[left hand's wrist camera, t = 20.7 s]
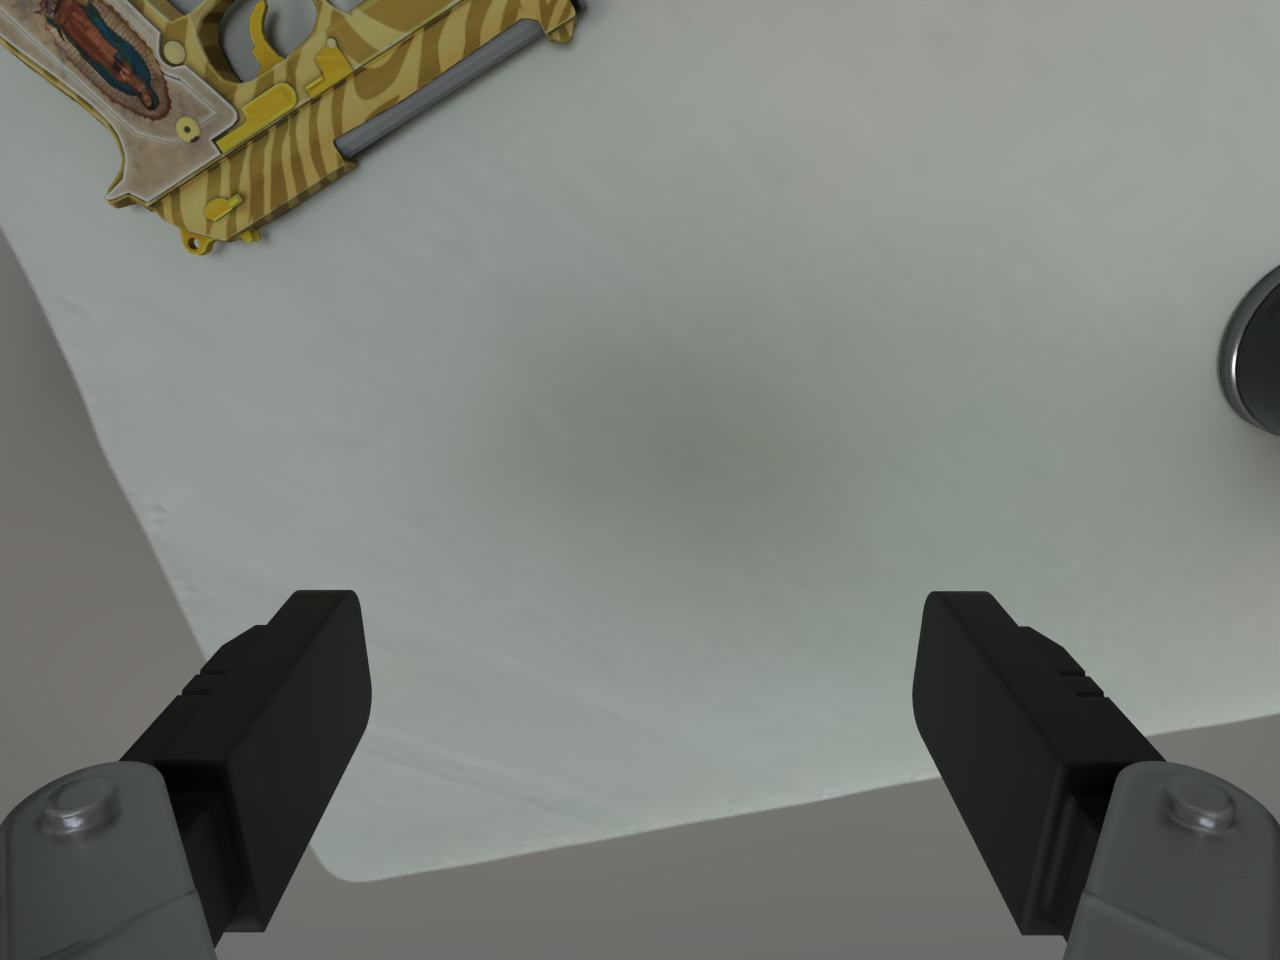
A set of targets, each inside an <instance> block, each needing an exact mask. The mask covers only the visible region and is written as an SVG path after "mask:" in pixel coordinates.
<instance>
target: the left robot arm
mask: <svg viewBox="0 0 1280 960" xmlns="http://www.w3.org/2000/svg"><path fill="white" fill-rule="evenodd" d="M1220 373H1221V381H1222V385H1223V389H1224V392H1225V394H1226V397H1227V399H1228V401H1229V402H1230V404H1231V406H1232V407H1233V408H1234V410H1235V411H1236V412H1237V413H1238V414H1239V415H1240V416H1241V417H1242V418H1243V419H1244V420H1246V421H1247V422H1248V423H1250V424H1252V425H1253V426H1255V427H1257V428H1260V429H1262V430H1265V431H1267V432H1270V433H1272V434H1275V435H1278V436H1280V268H1278V269H1277V270H1275V271H1274V272H1273V273H1271V274H1270V275H1269V276H1268V277H1266V278H1265V279H1264V280H1263V281H1262V282H1261V283H1260V284H1259V285H1258V286H1257V287H1256V288H1255V289H1254V290H1253V291H1252V292H1251V293H1250V294H1249V296H1248V297H1247V298H1246V299H1245V301H1244V302H1243V303H1242V305H1241V306H1240V308H1239V309H1238V311H1237V312H1236V314H1235V316H1234V318H1233V320H1232V322H1231V324H1230V326H1229V328H1228V331H1227V333H1226V336H1225V339H1224V343H1223V347H1222V352H1221V361H1220ZM912 699H913V710H914V716H915V721H916V724H917V727H918V730H919V733H920V735H921V737H922V739H923V741H924V743H925V745H926V747H927V749H928V751H929V752H930V754H931V756H932V758H933V760H934V762H935V764H936V766H937V768H938V770H939V772H940V774H941V776H942V778H943V780H944V782H945V784H946V786H947V788H948V790H949V792H950V794H951V796H952V798H953V800H954V802H955V804H956V806H957V808H958V810H959V812H960V814H961V816H962V818H963V820H964V822H965V824H966V826H967V827H968V829H969V831H970V833H971V835H972V837H973V839H974V841H975V843H976V845H977V847H978V849H979V851H980V853H981V855H982V857H983V859H984V861H985V863H986V865H987V867H988V869H989V871H990V873H991V875H992V877H993V879H994V881H995V883H996V885H997V887H998V889H999V891H1000V893H1001V895H1002V897H1003V899H1004V901H1005V902H1006V905H1007V906H1008V908H1009V910H1010V912H1011V914H1012V916H1013V918H1014V920H1015V922H1016V924H1017V926H1018V928H1019V930H1020V932H1021V934H1022V935H1063V937H1064V939H1065V940H1066V942H1067V946H1066V950H1065V953H1064V957H1063V960H1280V825H1279V824H1278V822H1277V821H1276V819H1275V818H1274V817H1273V815H1272V814H1271V813H1270V812H1269V811H1268V810H1267V809H1266V808H1265V807H1264V806H1263V805H1262V804H1261V803H1259V802H1258V801H1257V800H1256V799H1255V798H1253V797H1252V796H1251V795H1249V794H1248V793H1246V792H1245V791H1243V790H1242V789H1240V788H1239V787H1237V786H1235V785H1233V784H1232V783H1230V782H1228V781H1226V780H1224V779H1222V778H1220V777H1218V776H1216V775H1213V774H1210V773H1208V772H1205V771H1203V770H1200V769H1197V768H1193V767H1190V766H1186V765H1182V764H1177V763H1171V762H1167V761H1166V760H1165V759H1164V758H1163V757H1162V756H1161V755H1160V754H1159V752H1158V751H1157V750H1156V749H1155V748H1154V747H1153V746H1152V745H1151V744H1150V743H1149V741H1148V740H1147V739H1146V738H1145V737H1144V736H1143V735H1142V734H1141V733H1140V731H1139V730H1138V729H1137V728H1136V727H1135V726H1134V725H1133V724H1132V723H1131V722H1130V720H1129V719H1128V718H1127V717H1126V716H1125V715H1124V714H1123V713H1122V712H1121V711H1120V709H1119V708H1118V707H1117V706H1116V705H1115V704H1114V703H1113V702H1112V701H1111V700H1110V698H1109V697H1104V692H1103V691H1102V690H1101V688H1100V687H1099V686H1098V685H1097V684H1096V683H1095V682H1094V681H1093V680H1092V679H1091V677H1090V676H1085V671H1084V670H1083V669H1082V668H1081V666H1080V665H1079V664H1078V663H1077V662H1076V661H1075V660H1074V659H1073V658H1072V657H1071V655H1070V654H1069V653H1068V652H1067V651H1066V650H1065V649H1064V648H1063V647H1062V646H1060V645H1059V644H1057V643H1055V642H1054V641H1052V640H1050V639H1049V638H1047V637H1045V636H1044V635H1042V634H1041V633H1039V632H1037V631H1036V630H1034V629H1032V628H1031V627H1019V626H1018V625H1017V624H1016V623H1015V622H1014V620H1013V619H1012V618H1011V617H1010V616H1009V615H1008V613H1007V612H1006V611H1005V610H1004V609H1003V607H1002V606H1001V605H1000V604H999V603H998V602H997V600H996V599H995V598H994V597H993V596H992V595H991V594H990V593H989V592H986V591H933V592H931V593H930V594H929V595H928V597H927V599H926V601H925V605H924V610H923V617H922V624H921V631H920V638H919V645H918V652H917V659H916V667H915V674H914V681H913V691H912ZM371 700H372V687H371V678H370V671H369V664H368V657H367V650H366V643H365V635H364V628H363V621H362V614H361V607H360V602H359V599H358V597H357V595H356V593H355V592H354V591H352V590H297V591H296V592H294V593H293V594H292V595H291V596H290V598H289V599H288V600H287V601H286V602H285V604H284V605H283V606H282V607H281V608H280V610H279V611H278V612H277V613H276V614H275V615H274V617H273V618H272V619H271V620H270V621H269V623H268V624H267V625H255V626H253V627H252V628H250V629H249V630H247V631H245V632H244V633H242V634H240V635H239V636H237V637H236V638H234V639H232V640H231V641H229V642H227V643H226V644H224V645H222V646H221V648H220V649H219V650H218V651H217V652H216V653H215V654H214V655H213V656H212V658H211V659H210V660H209V661H208V662H207V663H206V664H205V665H204V666H203V668H202V669H201V670H200V675H195V676H194V678H193V679H192V680H191V681H190V682H189V683H188V684H187V685H186V686H185V688H184V689H183V690H182V695H177V697H176V698H175V699H174V700H173V701H172V702H171V703H170V704H169V706H167V708H166V709H165V710H164V711H163V712H162V713H161V714H160V715H159V716H158V718H157V719H156V720H155V721H154V722H153V723H152V724H151V725H150V727H149V728H148V729H147V730H146V731H145V732H144V733H143V734H142V735H141V736H140V738H139V739H138V740H137V741H136V742H135V743H134V744H133V745H132V746H131V748H130V749H129V750H128V751H127V752H126V753H125V754H124V755H123V757H122V758H121V759H120V760H119V761H117V762H109V763H103V764H98V765H94V766H90V767H87V768H83V769H80V770H77V771H75V772H72V773H70V774H67V775H64V776H62V777H60V778H58V779H56V780H54V781H52V782H50V783H48V784H47V785H45V786H43V787H41V788H40V789H38V790H37V791H35V792H34V793H32V794H31V795H29V796H28V797H27V798H25V799H24V800H23V801H22V802H21V803H19V804H18V805H17V806H16V807H15V808H14V809H13V810H12V811H11V812H10V813H9V814H8V815H7V817H6V818H5V819H4V821H3V822H2V824H1V825H0V960H217V957H216V953H215V950H214V949H215V947H216V946H217V944H218V942H219V940H220V938H221V936H222V935H223V933H224V932H264V931H265V929H266V927H267V925H268V923H269V921H270V919H271V917H272V915H273V913H274V911H275V909H276V907H277V905H278V903H279V901H280V899H281V897H282V895H283V893H284V891H285V889H286V887H287V885H288V883H289V881H290V879H291V877H292V875H293V873H294V871H295V869H296V867H297V865H298V863H299V861H300V859H301V857H302V855H303V853H304V851H305V849H306V847H307V845H308V843H309V841H310V839H311V837H312V835H313V833H314V831H315V829H316V827H317V825H318V823H319V821H320V819H321V817H322V815H323V813H324V811H325V809H326V807H327V805H328V803H329V801H330V799H331V797H332V795H333V793H334V791H335V789H336V787H337V785H338V783H339V781H340V779H341V777H342V775H343V773H344V771H345V770H346V768H347V766H348V764H349V762H350V760H351V758H352V756H353V754H354V752H355V750H356V748H357V746H358V744H359V742H360V740H361V738H362V736H363V734H364V731H365V729H366V726H367V723H368V720H369V715H370V709H371Z"/></svg>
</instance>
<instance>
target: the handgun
mask: <svg viewBox="0 0 1280 960" xmlns="http://www.w3.org/2000/svg"><path fill="white" fill-rule="evenodd" d="M234 1H235V0H204V1H203V2H201V3H200V4H199V5H198V6H197V7H196V8H195V9H194V10H192V11H191V12H190V13H189V14H187V15H183V14H181V13H180V12H179V11H177V10H176V9H175V8H174V7H173V6H172V5H171V4H170V3H169V2H168V1H167V0H0V44H1V45H3V46H4V47H5V48H6V49H7V50H9V51H10V52H11V53H12V54H13V55H15V56H16V57H17V58H18V59H19V60H21V61H22V62H23V63H24V64H25V65H27V66H28V67H29V68H30V69H32V70H33V71H34V72H36V73H37V74H38V75H40V76H41V77H42V78H44V79H45V80H46V81H48V82H49V83H51V84H52V85H53V86H55V87H56V88H57V89H59V90H60V91H61V92H63V93H64V94H65V95H67V96H68V97H69V98H71V99H72V100H73V101H75V102H77V103H78V104H79V105H81V106H82V107H83V108H84V109H85V110H87V111H88V112H89V113H90V114H91V115H93V116H94V117H95V118H96V119H97V120H98V121H99V122H101V123H102V124H103V125H104V126H105V127H106V128H107V129H108V130H109V131H110V132H111V133H112V135H113V136H114V137H115V139H116V142H117V144H118V147H119V150H120V153H121V155H122V166H121V169H120V171H119V173H118V175H117V176H116V178H115V179H114V180H113V182H112V184H111V186H110V187H109V189H108V191H107V194H106V196H105V200H106V202H108V203H109V204H110V205H111V206H113V207H115V208H117V209H118V208H122V207H125V206H129V205H133V204H136V203H139V204H141V205H142V206H144V207H145V208H147V209H148V210H150V211H151V212H152V211H155V212H156V213H157V214H158V215H159V216H160V217H161V218H162V219H163V220H164V221H166V222H168V223H170V224H172V225H174V226H177V227H179V230H180V233H181V239H182V242H183V245H184V247H185V248H186V249H187V250H188V252H189V253H191V254H195V255H206V254H207V253H209V252H210V251H211V250H212V247H213V244H214V243H215V241H217V240H222V241H226V242H229V243H230V242H233V241H237V240H240V239H243V240H244V241H245V242H248V243H250V242H252V241H255V242H258V241H260V240H261V235H260V233H259V231H258V229H259V228H260V227H262V226H263V225H265V224H267V223H268V222H270V221H271V220H273V219H274V218H276V217H278V216H279V215H281V214H282V213H284V212H285V211H287V210H289V209H290V208H292V207H293V206H295V205H296V204H298V203H300V202H301V201H303V200H304V199H306V198H307V197H309V196H310V195H312V194H314V193H315V192H317V191H318V190H320V189H321V188H323V187H325V186H326V185H328V184H329V183H331V182H332V181H334V180H336V179H337V178H339V177H340V176H342V175H343V174H345V173H347V172H348V171H350V170H351V169H353V168H354V167H356V162H355V160H354V159H353V157H352V156H353V155H354V154H356V153H357V152H359V151H361V150H362V149H364V148H365V147H367V146H368V145H370V144H371V143H373V142H375V141H376V140H378V139H379V138H381V137H382V136H384V135H386V134H387V133H389V132H390V131H392V130H393V129H395V128H397V127H398V126H400V125H401V124H403V123H404V122H406V121H407V120H409V119H411V118H412V117H414V116H415V115H417V114H418V113H420V112H422V111H423V110H425V109H426V108H428V107H429V106H431V105H432V104H434V103H436V102H437V101H439V100H440V99H442V98H443V97H445V96H447V95H448V94H450V93H451V92H453V91H454V90H456V89H458V88H459V87H461V86H462V85H464V84H465V83H467V82H468V81H470V80H472V79H473V78H475V77H476V76H478V75H479V74H481V73H483V72H484V71H486V70H487V69H489V68H490V67H492V66H493V65H495V64H497V63H498V62H500V61H501V60H503V59H504V58H506V57H508V56H509V55H511V54H512V53H514V52H515V51H517V50H518V49H520V48H522V47H523V46H525V45H526V44H528V43H529V42H531V41H533V40H534V39H536V38H537V37H539V36H540V35H542V34H544V33H545V35H546V37H547V39H548V40H549V41H551V40H554V41H557V42H561V43H567V42H568V41H570V40H571V39H572V38H573V32H574V26H575V25H576V24H577V22H578V19H577V16H576V12H578V11H579V10H581V9H583V8H584V7H586V6H587V4H588V3H587V0H364V1H363V2H361V3H360V4H358V5H357V6H355V7H354V8H353V9H351V12H344V11H342V10H340V9H338V8H336V7H335V6H334V5H333V4H332V3H331V2H330V1H329V0H313V2H314V4H315V6H316V11H317V18H316V23H315V26H314V28H313V30H312V33H311V35H310V36H309V37H308V38H307V39H306V40H305V41H304V42H303V43H302V44H301V45H300V46H298V47H297V48H296V49H295V50H294V51H293V52H292V53H291V54H290V55H289V56H288V57H287V58H286V59H285V58H283V57H282V56H280V55H279V54H278V53H277V52H276V51H275V50H274V49H273V48H272V46H271V45H270V44H269V42H268V41H267V38H266V36H265V33H264V20H265V16H266V13H267V9H268V5H267V2H266V0H261V1H260V2H258V3H257V4H256V6H255V8H254V10H253V12H252V14H251V16H250V24H249V30H250V34H251V38H252V41H253V43H254V45H255V47H254V48H253V49H252V50H251V51H252V53H253V54H254V56H255V58H256V59H257V60H258V62H259V63H260V65H261V68H260V70H259V72H258V74H257V77H256V78H255V79H252V80H249V81H246V82H243V83H241V82H240V81H239V80H238V79H237V78H236V76H235V75H234V74H233V72H232V71H231V70H230V68H229V66H228V64H227V62H226V60H225V58H224V56H223V53H222V51H221V48H220V46H219V43H218V24H219V23H220V21H221V19H222V17H223V15H224V13H225V11H226V10H227V9H228V8H229V7H230V5H231V4H232V3H233V2H234ZM195 238H196V239H197V240H198V241H199V248H197V247H196V246H195V244H194V240H195Z"/></svg>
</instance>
